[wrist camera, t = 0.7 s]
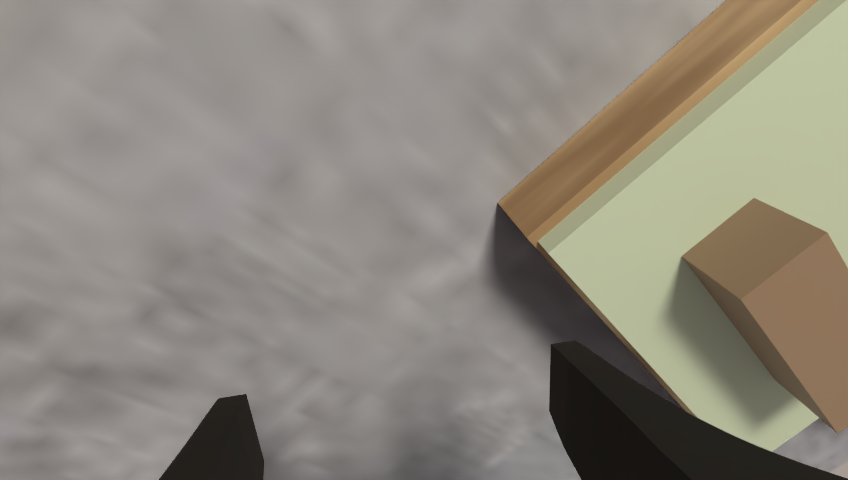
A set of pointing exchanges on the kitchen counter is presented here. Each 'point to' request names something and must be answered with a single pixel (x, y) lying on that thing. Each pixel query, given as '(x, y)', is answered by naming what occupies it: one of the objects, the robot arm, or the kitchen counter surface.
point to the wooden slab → (645, 122)
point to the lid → (736, 241)
